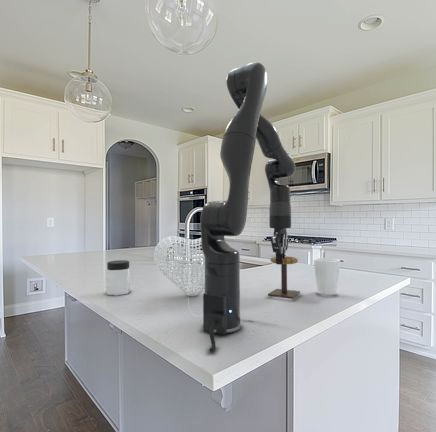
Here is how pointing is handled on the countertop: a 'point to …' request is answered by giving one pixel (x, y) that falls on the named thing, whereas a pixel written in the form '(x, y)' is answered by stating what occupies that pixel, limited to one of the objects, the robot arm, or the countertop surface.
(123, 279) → the jar
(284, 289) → the post
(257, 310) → the countertop surface
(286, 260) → the ring
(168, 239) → the heart
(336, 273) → the foam cup
